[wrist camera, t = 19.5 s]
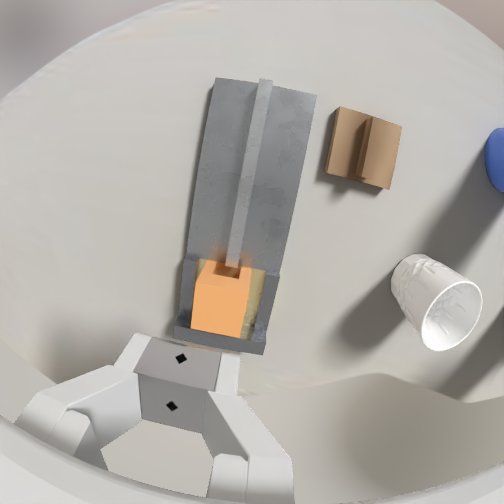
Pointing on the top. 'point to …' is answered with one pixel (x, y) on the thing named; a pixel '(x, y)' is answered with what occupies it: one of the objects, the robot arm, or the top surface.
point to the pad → (363, 148)
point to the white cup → (436, 301)
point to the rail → (245, 199)
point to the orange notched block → (220, 301)
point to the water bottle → (495, 158)
